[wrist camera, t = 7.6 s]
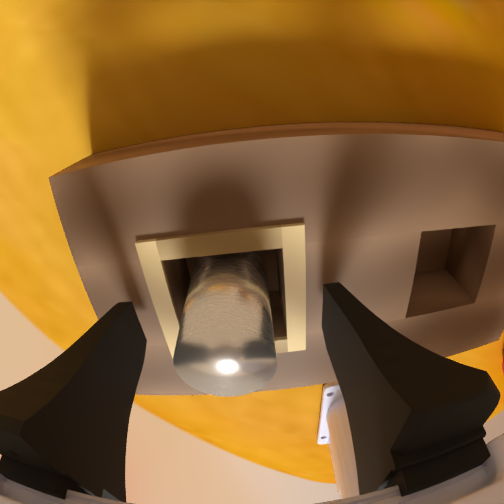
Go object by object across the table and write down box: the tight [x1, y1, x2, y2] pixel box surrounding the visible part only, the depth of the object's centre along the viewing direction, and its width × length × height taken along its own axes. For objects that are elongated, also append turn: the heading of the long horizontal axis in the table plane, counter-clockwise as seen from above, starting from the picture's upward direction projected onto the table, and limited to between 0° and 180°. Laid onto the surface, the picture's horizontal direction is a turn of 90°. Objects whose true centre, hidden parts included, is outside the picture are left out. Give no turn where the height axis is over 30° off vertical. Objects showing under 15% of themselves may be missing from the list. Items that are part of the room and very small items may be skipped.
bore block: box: [49, 122, 504, 395], centre depth 14 cm, size 12×22×4 cm, turn 96°
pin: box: [173, 250, 277, 396], centre depth 12 cm, size 3×3×7 cm
